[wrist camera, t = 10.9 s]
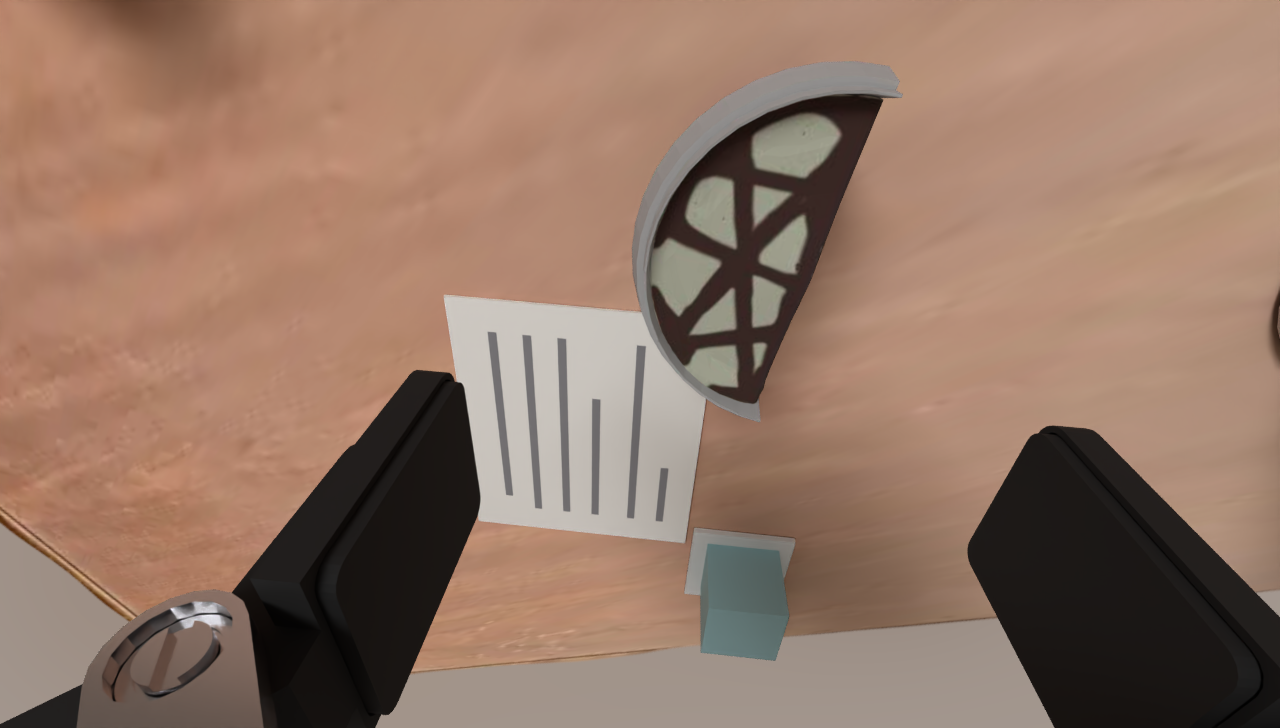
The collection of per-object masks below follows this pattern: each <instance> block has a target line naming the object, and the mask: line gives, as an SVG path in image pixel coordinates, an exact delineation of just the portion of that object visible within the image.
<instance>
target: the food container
mask: <svg viewBox="0 0 1280 728" xmlns="http://www.w3.org/2000/svg"><path fill="white" fill-rule="evenodd" d="M899 82H900V81H899V79H898V78H897V77H896V75H895V74H894V72H893V71H892V69H891V68H890V66H885V65H879V64H872V63H865V62H858V61H849V62H820V63H815V64H809V65H804V66H799V67H794V68H789V69H785V70H783V71H780V72H777V73H774V74H772V75H769V76H766V77H763V78H761V79H758V80H755V81H753V82H751V83H749V84H748V85H746V86H744V87H742V88H740V89H739V90H737V91H735V92H733V93H731V94H730V95H728V96H726V97H724V98H723V99H721V100H720V101H719V102H718V103H716V104H715V105H714V106H712V107H711V108H710V109H709V110H707V111H706V112H705V113H703V114H702V115H701V116H700V117H698V118H697V119H696V120H695V121H694V122H693V123H692V124H691V125H690V126H689V127H688V128H687V130H686V131H685V132H684V133H683V134H682V135H681V136H680V137H679V138H678V139H677V140H676V141H675V142H674V144H673V145H672V146H671V148H670V149H669V151H668V152H667V154H666V155H665V157H664V158H663V159H662V161H661V162H660V164H659V165H658V167H657V168H656V170H655V172H654V174H653V176H652V178H651V181H650V183H649V185H648V187H647V189H646V191H645V193H644V195H643V198H642V202H641V205H640V208H639V212H638V215H637V218H636V222H635V229H634V237H633V245H632V264H633V277H634V282H635V287H636V292H637V297H638V301H639V304H640V308H641V312H642V315H643V317H644V320H645V323H646V325H647V328H648V331H649V333H650V336H651V337H652V339H653V341H654V343H655V344H656V346H657V348H658V349H659V351H660V353H661V355H662V356H663V357H664V358H665V360H666V361H667V362H668V363H669V365H670V366H671V367H672V368H673V369H674V371H675V372H676V373H677V374H678V375H679V376H680V377H681V378H682V380H683V381H685V382H686V383H687V384H688V385H689V386H690V387H691V388H693V389H694V390H695V391H696V392H697V393H698V394H699V395H701V396H703V397H704V398H706V399H707V400H709V401H710V402H712V403H713V404H715V405H717V406H718V407H720V408H722V409H725V410H727V411H729V412H731V413H733V414H736V415H738V416H740V417H744V418H747V419H750V420H753V421H757V422H760V410H759V396H760V393H761V392H762V390H763V388H764V384H765V380H766V378H767V375H768V372H769V370H770V367H771V365H772V363H773V360H774V358H775V356H776V354H777V351H778V349H779V347H780V344H781V342H782V340H783V338H784V336H785V333H786V331H787V329H788V327H789V325H790V322H791V320H792V318H793V316H794V314H795V312H796V310H797V308H798V306H799V304H800V302H801V300H802V298H803V296H804V293H805V291H806V289H807V287H808V285H809V283H810V281H811V279H812V276H813V273H814V271H815V268H816V265H817V263H818V260H819V257H820V255H821V252H822V249H823V246H824V244H825V241H826V238H827V236H828V233H829V231H830V228H831V226H832V223H833V221H834V218H835V215H836V213H837V210H838V208H839V205H840V203H841V200H842V198H843V195H844V193H845V190H846V188H847V186H848V183H849V181H850V179H851V176H852V174H853V171H854V169H855V167H856V164H857V162H858V159H859V157H860V155H861V152H862V150H863V148H864V145H865V143H866V140H867V138H868V136H869V133H870V131H871V128H872V126H873V124H874V121H875V119H876V116H877V114H878V112H879V109H880V107H881V104H882V102H883V99H881V98H902V95H903V94H901V93H900V92H898V91H896V89H897V87H898V84H899Z"/></svg>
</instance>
